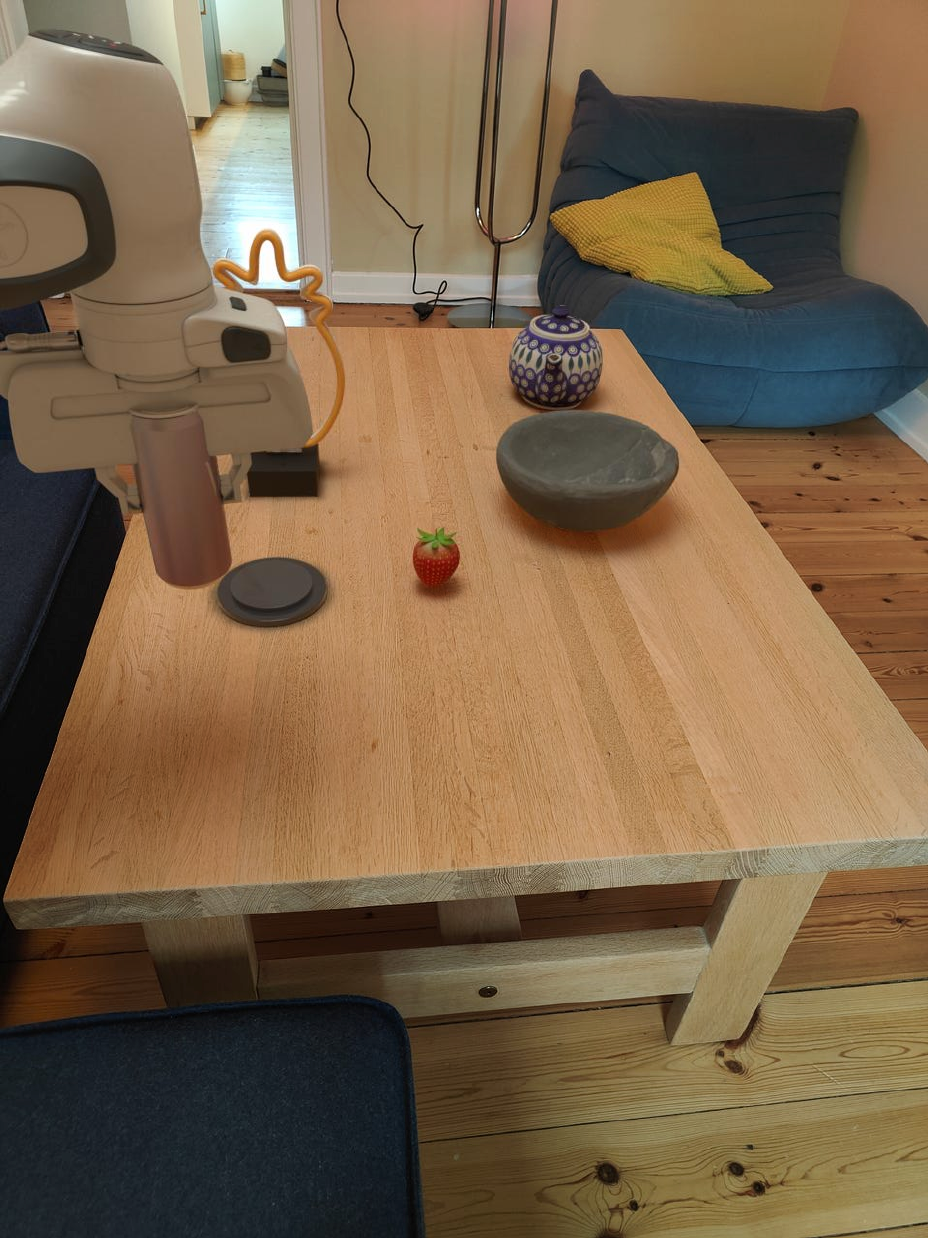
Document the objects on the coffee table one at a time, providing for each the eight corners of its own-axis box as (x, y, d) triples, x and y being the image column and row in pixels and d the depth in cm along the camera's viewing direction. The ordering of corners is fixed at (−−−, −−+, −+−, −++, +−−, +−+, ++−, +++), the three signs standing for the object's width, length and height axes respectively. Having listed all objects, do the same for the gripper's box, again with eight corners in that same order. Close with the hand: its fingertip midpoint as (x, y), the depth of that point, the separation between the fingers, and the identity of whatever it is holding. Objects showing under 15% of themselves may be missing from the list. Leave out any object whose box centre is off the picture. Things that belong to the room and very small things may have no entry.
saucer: (222, 634, 90) (221, 624, 89) (213, 569, 99) (211, 560, 98) (335, 617, 93) (335, 607, 92) (317, 556, 102) (316, 547, 101)
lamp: (218, 496, 111) (181, 239, 92) (226, 463, 118) (193, 218, 99) (348, 496, 113) (339, 244, 94) (348, 463, 120) (340, 222, 100)
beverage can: (165, 549, 71) (130, 378, 62) (238, 550, 72) (214, 380, 62) (149, 592, 67) (108, 415, 57) (226, 593, 67) (198, 416, 58)
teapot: (517, 363, 152) (526, 277, 143) (602, 374, 150) (615, 288, 141) (493, 423, 132) (501, 328, 123) (590, 437, 131) (605, 341, 121)
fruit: (432, 568, 102) (434, 510, 97) (466, 586, 99) (470, 527, 94) (401, 587, 98) (402, 528, 93) (436, 606, 96) (438, 547, 91)
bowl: (567, 453, 126) (577, 389, 120) (696, 516, 114) (714, 448, 108) (455, 504, 113) (459, 435, 107) (587, 582, 101) (600, 509, 95)
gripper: (-29, 355, 52) (33, 544, 61) (309, 333, 57) (321, 511, 66) (-16, 318, 57) (40, 499, 65) (295, 301, 62) (309, 471, 70)
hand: (183, 505), depth 66 cm, fingers closed on beverage can, 6 cm apart
